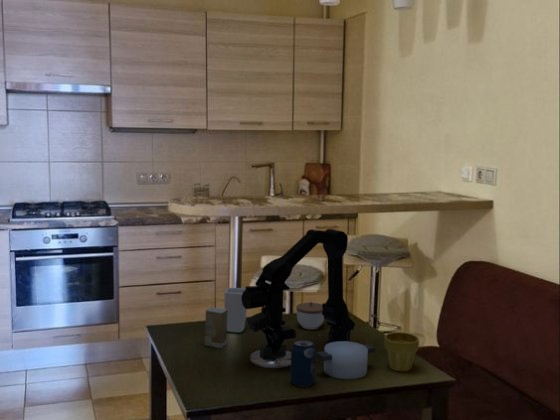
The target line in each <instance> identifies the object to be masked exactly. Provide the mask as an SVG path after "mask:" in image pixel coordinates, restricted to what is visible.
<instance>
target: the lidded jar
mask: <svg viewBox="0 0 560 420" xmlns="http://www.w3.org/2000/svg"><path fill="white" fill-rule="evenodd" d="M322 304H323V303H316V302H313V301H309V302H301V303H299V304H297V305H296V306H295V307H296V319H297V322H298V323H299V325H300V326H301V328H303V329H306V330H309V331H310V330H318V329H319V327H321V326H322V324H323V323H324V320H325V319H324V316H323V315H322V311H323V309H322Z"/></svg>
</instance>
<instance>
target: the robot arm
mask: <svg viewBox="0 0 560 420" xmlns="http://www.w3.org/2000/svg"><path fill="white" fill-rule="evenodd" d="M348 241H349V237H348V234H346V232H345V231H342V230H337V229H334V228H328V229H326V230H318V229H308V230H307V231H306V233H305V234H304V235H303V236H302V237H301V238H299V240H298V241H297V242H296V243H295V244H294V245H293V246H291V247H290V248H289V249H288V250H287V251H286V252H285V253H284V254H283V255H282V256H280V257H278V258H275V259H273V260H271V261H270V262H268V263H266V264H265V265H264V267H262V272H261V273H260V275H259V277H258V278H257V280H256V282H255V285H252V286H251V285H250V286H249V285H247V286H245V291H244V292H243V294H242V296H241V300H242V304H243V306H244V308H245V309H246V310H251V309H252V310H253V309H258V308H260V309H261V310H260V312H258V313H255V314H254V315H252V316H249V317H247V319H246V323H247V324H248V328H249V330H251V331H252V332H254V333H257V332H259V331H260V332H261V333H262V334H264V337H265V340H266V345H269V344H272V349H273V354H277V352H278V350H279V349H280V347H281V345H282V343H284V342H285V340H290V339H296V338H297V330H295V329H294V328H293V327H292V326H289V325H286V320H284V313H285V312H286V310H287V309H286V308H285V307H284V291H287V290H290V286H288V284H286V281H287V280H288V279H289V277H290V276H291V274H292V271H293V269H294V268H295V266H296V265H297V264H298V263H299V262H300V261H302V260H303V259H304V257H306V255H309V253H310V252H311V251H312V250H313V249H314V248H315V247H316V246H317V245H318V244H322V248H323V251H324V252H325V254H326V256H327V286H328V287H327V289H328V290H327V293H328V294H327V295H328V298H327V300H326V301H325V302H324V303H321V304H322V309H323V311H322V315H323V316H324V320H325V321H326V325H327V326H329V332H328V341H326V345H327V344H329V343H332V342H338V341H348V342H351V331H353V330H354V329H355V326H356V323H355V322H354V321H353V320H352V318H351V317H350V316H349V315H350V314H349V309H348V305H347V303H346V302H345V300H344V275H343V274H344V272H343V271H344V269H343V268H344V267H343V265H344V264H343V257H344V255H345V253H346V252H347V249H348ZM283 325H284V326H283Z"/></svg>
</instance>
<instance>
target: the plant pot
mask: <svg viewBox="0 0 560 420" xmlns="http://www.w3.org/2000/svg"><path fill="white" fill-rule="evenodd" d="M383 343H384V344H383V345H384V348H385V349H386V354H387V358H388V359H387V360H388V365H389V369H391V370H393V371H397V372H408V371H410V370H411V369H412V367H413V363H414V360H415V357H416V353H417V351H418V350H419V346H420V345H419V344H420V338H419V337H418V336H417V335H415V334H413V333H409V332H406V331H405V332H403V331H393V332H388V333H386V334H385V335H384V342H383Z"/></svg>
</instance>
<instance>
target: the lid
mask: <svg viewBox="0 0 560 420" xmlns="http://www.w3.org/2000/svg"><path fill="white" fill-rule="evenodd" d="M250 362H251V363H252V364H254V366H256V367H261V368H264V369H282V368H287V367H291V351H289V350H287V344H286V343H285V342H283V343H282V345H281V347H280V349H279V350H278V352H277V354H273V349H272V344H269V345H267V344H263V345H259V349H257V350H256V351H253V352H252V353H251V354H250Z"/></svg>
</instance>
